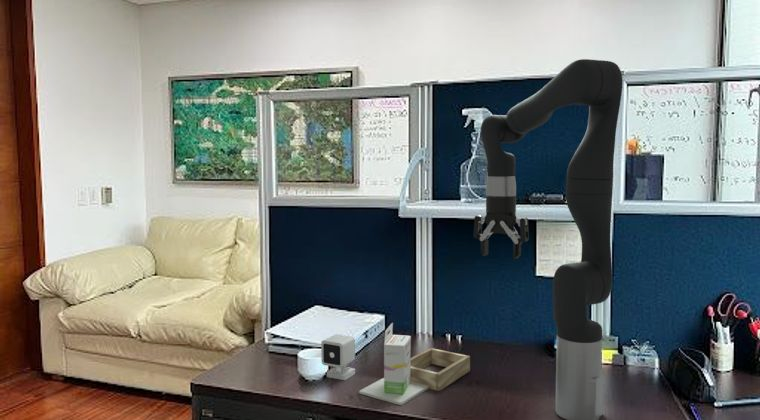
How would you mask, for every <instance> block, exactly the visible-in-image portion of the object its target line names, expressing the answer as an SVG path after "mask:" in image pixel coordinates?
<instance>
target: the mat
mask: <svg viewBox="0 0 760 420" xmlns="http://www.w3.org/2000/svg"><path fill="white" fill-rule="evenodd" d="M428 389H430V388H429V386H427V385H423V384H419V383H415V382H412V381H410V383H409V385H408V387H407V389H406V390H405V392H404V394H395V393H385V392H384V377H383V378H380V379H378V380H376V381H375V382H373V383H371V384H369V385H367V386H366V387H364V388H362V389H360V390H358V393H359V394H360V395H364V396H366V397H367V396H368V397H370V398H374V399H378V400H381V401H384V402H389V403H391V404H395V405H399V406H402V405H405V404H406V403H407V402H409V401H411V400H412V399H414V398H416V397H417V396H419V395H420V394H422V393H423V392H425V391H427V390H428Z"/></svg>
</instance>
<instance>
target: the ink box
mask: <svg viewBox="0 0 760 420" xmlns="http://www.w3.org/2000/svg"><path fill="white" fill-rule="evenodd" d="M393 326H394V323H393V322H391V323H390V325H389V326H388V327H387V328H386V329H385V331H384V342H383V378H384V392H385V393H395V394H404V392H405V390H406V389H407V387H408V385H409V383H410V380H411V379H410V377H411V365H410V358H411V346H412V345H411V342H412V340H411V339H412V338H411V337H412V336H411V335H404V334H403V335H402V334H393V329H394V327H393Z"/></svg>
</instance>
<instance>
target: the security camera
mask: <svg viewBox="0 0 760 420" xmlns="http://www.w3.org/2000/svg"><path fill="white" fill-rule="evenodd" d="M320 345H321V346H320V347H321V349H320V350H321V364H322V365H323V366H327V367H328V366H329V367H333V368H331V369H328V371H326V378H330V379H335V380H341V381H346V380H348V379H350V378H351V377H353V376H354V375H355V374H356V368H354V367H349V366H348V364H351V363H352V362H354V361H355V359H356V339H355V337H354V336H350V335H342V334H338V333H335V334H333V335H331V336H329V337H327V338H325V339H323V340H322V341H321V343H320Z"/></svg>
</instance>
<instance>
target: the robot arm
mask: <svg viewBox="0 0 760 420" xmlns="http://www.w3.org/2000/svg"><path fill="white" fill-rule="evenodd" d="M622 92H623V74H622V70H621V68H620V66H618V64H617V63H616V62H613V61H610V60H602V59H600V60H599V59H588V58H587V59H585V58H583V59H576V60H574V61H572V62H570V63H569V64H568V65H567V66H565V67H564V68H563V69H562V70H560V72H559V73H557V74H556V75H554V77H553V78H552V79H551V80H550V81H548V83H546V84H545V85H544V86H543V87H542V88H540V89H539V90H538V91H537V92H536V93H534V94H533V95H531V96H529V97H528V98H526V99H524V100H523V101H521V102H518V103H517V104H516V105H514V106H512V107H510V109H509V110H508V111H507V113H506V114H505V115H504V114H503V115H502V114H499V115H497V114H490V115H489V114H488V115H487V116H486V117H485V118H484V119H483V120H482V123H481V125H480V137H481V141H482V144H483V149H484V153H485V156H486V162H487V166H486V168H487V172H486V173H487V177H486V184H485V185H486V186H485V187H486V188H485V211H486V212H485V213H486V214H485V216H484V215H482V216H481V214H479V215H475V216H474V218H473V221H474V222H473V223H474V224H473V238H474V239H477V240H479V241H480V254H481V255H482V256H484V257H486V256H488V255H489V240H488V239H489V238H490V237H491V235H493V234H501V235H507V236H508V237H509V238H510V239H511V240H512V242H513V245H512V252H513V253H512V258H513V259H519V258H520V257H521V255H522V244H523V243H525V242H528V241H529V240H530V235H529V234H530V232H529V231H530V230H529V218H527V217H526V216H525V217H520V218H519V217H517V216H516V215H517V214H516V212H517V181H516V180H517V179H516V157H515V155H514V154H512V153H510V152H506V151H504V150H503V149H504V148H502V147H503V146H502V144H513V143H517V142H519V141H520V140H522V139H523V138H524V137H525V136H526V135H527V134H528V132H530V131H531V132H532V131H533V130H535V129H536V128H539V127H540V126H542V125H544V124H546V123H547V122H548V121H549V120H550V119H551V117H552V115H553V113H554V112H555V111H556V110H558V109H561V108H564V107H567V106H574V105H577V106H588V108H589V109H588V119H587V127H586V131H585V134H584V136H583V138H582V140H581V142H580V143H579V145H578V147H577V149H576V150H575V152H574V154H572V155H573V156H572V157H571V159H570V160H569V161H570V162H569V164H568V167H567V170H566V179H565V181H566V184H565V200H566V205H567V208H568V211H569V212H570V215H571V217H572V219H573V221H574V223H575V225H576V226H577V228H578V231H579V234H580V238H581V260H580V261H579V262H571V263H563V264H562V265H559V267H557V269H556V270H555V271H554V275H553V280H552V306H553V310H552V311H553V319H554V323H555V326H556V356H555V358H556V359H555V360H556V363H555V364H556V365H555V366H556V367H555V368H556V370H555V402H554V403H555V414H556V415H557V416H559V417H560V418H562V419H564V420H600V418H601V417H602V415H603V414H604V391H605V390H604V385H605V384H604V383H605V371H603V370H602V358H603V356H602V354H603V353H602V352H603V349H602V348H603V328H602V325H601V324H600V322H598V321H595V320H592V319H589V318H588V314H587V313H588V312H587V306H592V305H597V304H601V303H604V302H605V301H607V299H608V298H609V297H610V295H611V292H612V286H613V267H612V266H613V265H612V249H611V230H612V229H611V228H612V226H611V225H612V224H611V222H612V220H611V219H612V200H613V191H614V189H613V186H614V158H615V145H616V134H617V126H618V119H619V112H620V109H621V108H620V107H621V101H622ZM484 223H485V224H486V225H487V226H486V228H485V229H484V230H483V224H484ZM516 224H517V226H518V227H519V233H518V231H517V229H516V228H515V226H516ZM519 234H520V235H519Z"/></svg>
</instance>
